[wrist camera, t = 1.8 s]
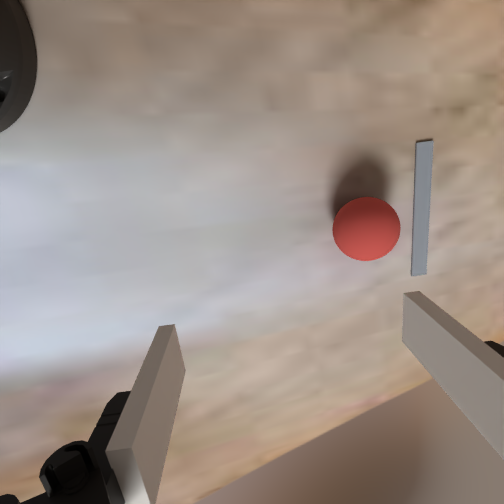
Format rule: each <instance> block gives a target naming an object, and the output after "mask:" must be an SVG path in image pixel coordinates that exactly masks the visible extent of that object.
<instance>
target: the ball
mask: <svg viewBox="0 0 504 504" xmlns="http://www.w3.org/2000/svg"><path fill="white" fill-rule="evenodd" d="M399 235H400V221H399V218H398V215H397V213H396V212H395V210H394V209H393V208H392V207H391V206H390V205H389V204H388V203H386V202H385V201H383V200H381V199H378V198H373V197H361V198H357V199H354V200H352V201H350V202H348V203H347V204H345V205H344V206H343V207H342V208H341V209H340V210H339V212H338V213H337V215H336V217H335V219H334V222H333V237H334V240H335V243H336V244H337V246H338V247H339V249H340V250H341V251H342V252H343V253H344V254H346V255H347V256H349V257H351V258H353V259H356V260H361V261H371V260H375V259H378V258H381V257H383V256H384V255H386V254H387V253H389V252H390V251H391V250H392V249H393V247H394V246H395V245H396V243H397V241H398V239H399Z"/></svg>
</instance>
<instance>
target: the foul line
mask: <svg viewBox="0 0 504 504" xmlns="http://www.w3.org/2000/svg"><path fill="white" fill-rule="evenodd" d="M432 159H433V141H426V142H419V143H416V153H415V180H414V208H413V236H412V263H411V276H418V275H425V274H426V272H427V253H428V234H429V215H430V197H431V178H432Z"/></svg>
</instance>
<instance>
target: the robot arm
mask: <svg viewBox="0 0 504 504" xmlns="http://www.w3.org/2000/svg"><path fill="white" fill-rule="evenodd" d="M35 80H36V51H35V45H34V40H33V36H32V32H31V29H30V26H29V23H28V20H27V18H26V16H25V13H24V11H23V9H22V7H21V5H20V3H19V1H18V0H0V132H2V131H4V130H6V129H7V128H8V127H10V126H11V125H12V124H13V123H14V122H15V121H16V120H17V119H18V118H19V117H20V116H21V114H22V113H23V112H24V110H25V109H26V107H27V105H28V103H29V101H30V98H31V96H32V93H33V90H34V85H35ZM402 342H403V343H404V344H405V345H406V346H407V348H408V349H409V350H410V351H411V352H412V353H413V355H414V356H415V357H416V358H417V359H418V360H419V362H420V363H421V364H422V365H423V366H424V367H425V369H426V370H427V371H428V372H429V373H430V374H431V376H432V377H433V378H434V379H435V380H436V381H437V383H438V384H439V385H440V386H441V387H442V388H443V390H444V391H445V392H446V393H447V394H448V396H449V397H450V398H451V399H452V400H453V401H454V403H455V404H456V405H457V406H458V407H459V408H460V410H461V411H462V412H463V413H464V414H465V415H466V417H467V418H468V419H469V420H470V421H471V422H472V424H473V425H474V426H475V427H476V428H477V429H478V430H479V432H480V433H481V434H482V435H483V437H484V438H485V439H486V440H487V441H488V442H489V443H490V445H491V446H492V447H493V448H494V449H495V451H496V452H497V453H498V454H499V455H500V456H501V458H502V459H503V460H504V346H502V345H500V344H498V343H495V342H493V341H486V342H483V341H482V340H480V339H479V338H478V337H477V336H475V335H474V334H473V333H472V332H470V331H469V330H468V329H467V328H465V327H464V326H463V325H461V324H460V323H459V322H458V321H456V320H455V319H454V318H453V317H451V316H450V315H449V314H447V313H446V312H445V311H444V310H442V309H441V308H440V307H439V306H437V305H436V304H435V303H434V302H432V301H431V300H430V299H428V298H427V297H426V296H425V295H423V294H422V293H421V292H420V291H416V292H409V293H404V295H403V326H402ZM184 375H185V366H184V362H183V358H182V354H181V349H180V345H179V341H178V336H177V332H176V328H175V324H173V325H165V326H159V328H158V330H157V332H156V334H155V337H154V339H153V341H152V344H151V346H150V348H149V351H148V353H147V355H146V358H145V360H144V362H143V365H142V367H141V369H140V372H139V374H138V376H137V379H136V381H135V383H134V386H133V388H132V390H131V391H126V392H119V393H117V394H116V395H115V396H114V397H113V398H112V399H111V400H110V401H109V402H108V403H107V405H106V407H105V409H104V411H103V413H102V415H101V417H100V419H99V421H98V423H97V425H96V427H95V428H94V430H93V432H92V434H91V436H90V438H89V440H88V442H86V441H82V440H81V441H74V442H71V443H69V444H66V445H64V446H62V447H61V448H60V449H58V450H57V451H55V452H54V453H53V454H52V455H51V456H50V457H49V458H48V459H47V460H46V461H45V463H44V465H43V466H42V468H41V471H40V476H39V478H40V480H41V482H42V484H43V486H44V488H45V490H46V492H45V493H43V494H40V495H38V496H36V497H33V498H31V499H29V500H26V501H24V502H22V503H20V502H19V500H18V499H17V497H16V496H15V495H11V494H6V495H2V496H0V504H155V503H156V498H157V494H158V490H159V485H160V481H161V476H162V472H163V468H164V463H165V459H166V454H167V450H168V446H169V441H170V437H171V432H172V428H173V424H174V419H175V415H176V410H177V406H178V401H179V397H180V393H181V388H182V384H183V379H184Z"/></svg>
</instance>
